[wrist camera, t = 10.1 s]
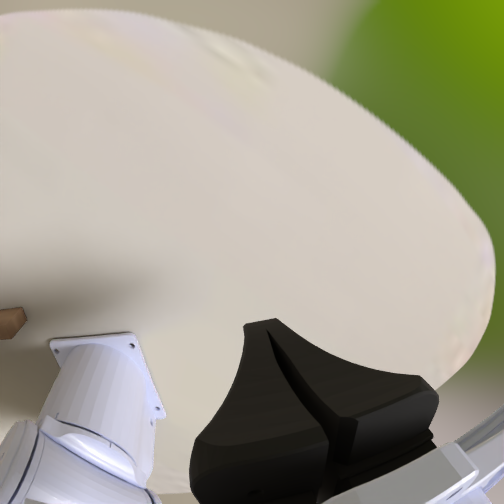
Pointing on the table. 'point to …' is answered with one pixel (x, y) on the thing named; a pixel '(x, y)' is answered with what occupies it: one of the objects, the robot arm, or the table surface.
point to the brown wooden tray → (11, 322)
